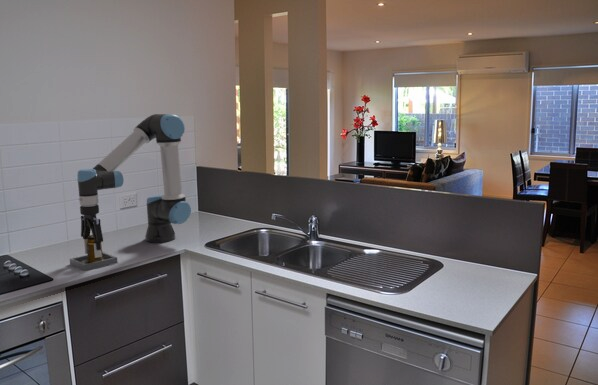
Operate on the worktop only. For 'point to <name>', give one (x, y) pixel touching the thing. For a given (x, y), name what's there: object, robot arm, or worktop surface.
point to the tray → (106, 261)
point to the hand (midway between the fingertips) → (93, 255)
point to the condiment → (91, 251)
